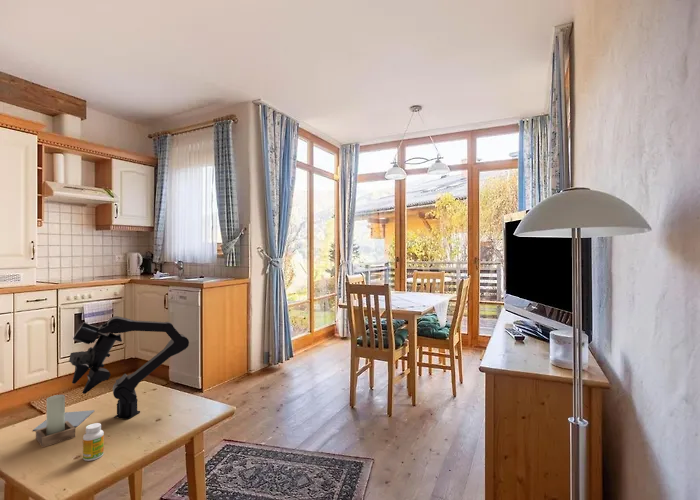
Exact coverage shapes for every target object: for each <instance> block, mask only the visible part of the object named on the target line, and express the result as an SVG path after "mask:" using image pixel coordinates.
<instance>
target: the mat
mask: <svg viewBox="0 0 700 500" xmlns="http://www.w3.org/2000/svg"><path fill="white" fill-rule="evenodd" d="M94 412H95V409H91V410H78V411H65V421H68V422H69V423H70V424H71V425H72V426H74V427H75V428H77V427H79V426H80V425H81V424H82V423H83V422H84V421H86V419H87V418H89V417H90V416H91V415H92V414H93V413H94ZM45 427H46V419H45V420H44V421H42V422H41V423H40V424H39V425H37V426H36V427H35V428H33V429H32V431H33V432H36V430H38V429H41V428H45Z"/></svg>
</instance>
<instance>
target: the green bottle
mask: <svg viewBox="0 0 700 500" xmlns="http://www.w3.org/2000/svg"><path fill="white" fill-rule="evenodd" d="M65 412H66V396H65V394H55V395H52V396H49V397H47V398H46V418H45V420H46V436H48V435H51V434H54V433H58V432H61V431H64V430H65Z"/></svg>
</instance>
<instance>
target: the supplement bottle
mask: <svg viewBox="0 0 700 500" xmlns="http://www.w3.org/2000/svg"><path fill="white" fill-rule="evenodd" d="M104 433H105V432H104V430H103V429H102V424H101V423H100V422H95V423H91V424H88V425H87V426H86V427H85V433H84V434H83V436H82V460H84V461H85V462H91V461H95V460H98V459H100V458H102V457H103V455H104V454H105V453H104V449H105V448H104V447H105V446H104V445H105V444H104V441H105V439H104V438H105V437H104V436H105V434H104Z"/></svg>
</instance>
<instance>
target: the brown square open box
mask: <svg viewBox="0 0 700 500" xmlns="http://www.w3.org/2000/svg"><path fill="white" fill-rule="evenodd" d="M74 438H76V427H74V426H72V425H71V424H70V423H69V422H68V421H65V430H64V431H61V432H58V433H54V434H51V435H48V436H46V427H45V428H41V429H38V430H36V431H35V439H36V441H37V442H38V443H39V444H40V446H41V448H45V447H48V446H51V445H54V444H57V443H60V442H64V441H67V440H70V439H74Z"/></svg>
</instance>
